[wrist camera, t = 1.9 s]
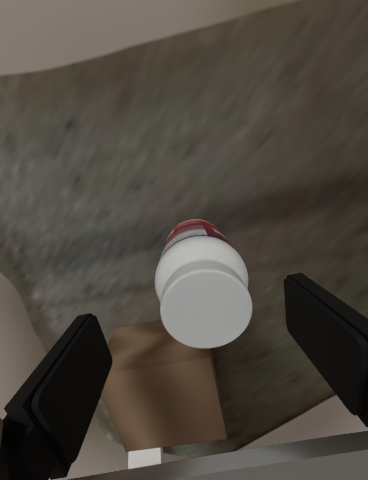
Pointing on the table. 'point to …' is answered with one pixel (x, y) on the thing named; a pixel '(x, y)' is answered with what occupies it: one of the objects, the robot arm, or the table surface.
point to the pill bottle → (202, 286)
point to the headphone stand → (145, 457)
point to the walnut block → (161, 390)
